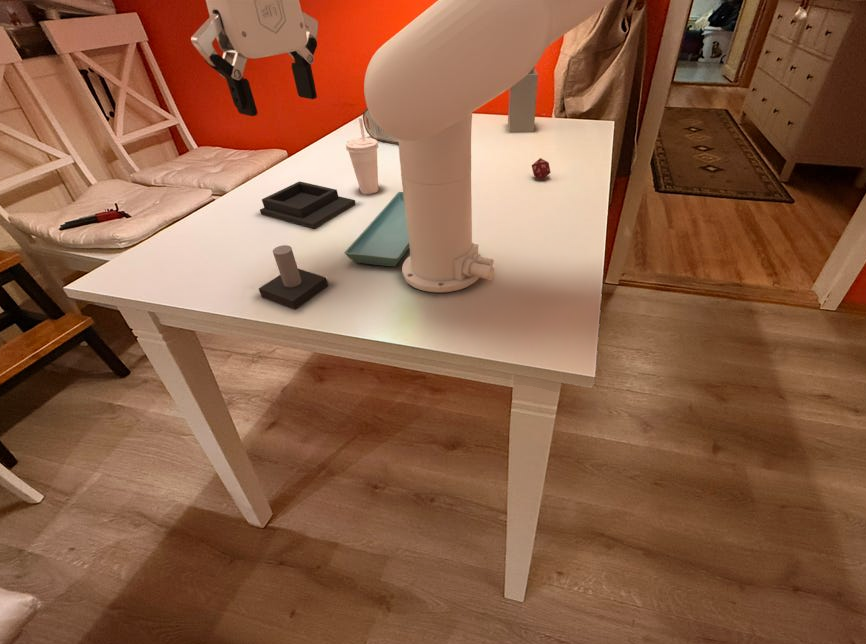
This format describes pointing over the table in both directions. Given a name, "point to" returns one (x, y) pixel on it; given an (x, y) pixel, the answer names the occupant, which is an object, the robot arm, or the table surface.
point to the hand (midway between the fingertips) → (279, 105)
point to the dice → (541, 169)
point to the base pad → (305, 204)
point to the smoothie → (364, 161)
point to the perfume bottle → (523, 104)
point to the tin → (376, 129)
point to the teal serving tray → (383, 237)
